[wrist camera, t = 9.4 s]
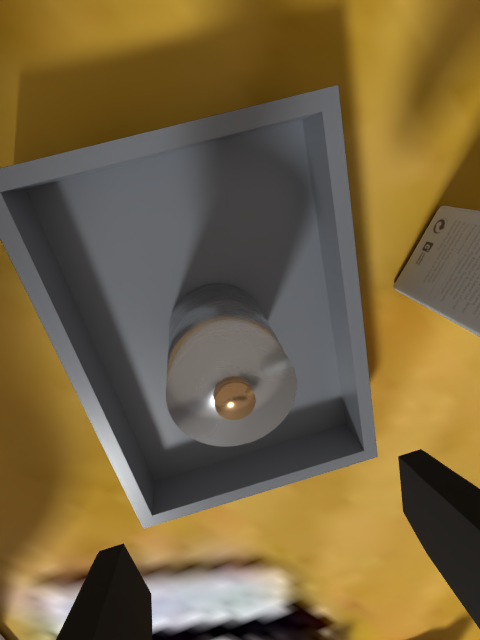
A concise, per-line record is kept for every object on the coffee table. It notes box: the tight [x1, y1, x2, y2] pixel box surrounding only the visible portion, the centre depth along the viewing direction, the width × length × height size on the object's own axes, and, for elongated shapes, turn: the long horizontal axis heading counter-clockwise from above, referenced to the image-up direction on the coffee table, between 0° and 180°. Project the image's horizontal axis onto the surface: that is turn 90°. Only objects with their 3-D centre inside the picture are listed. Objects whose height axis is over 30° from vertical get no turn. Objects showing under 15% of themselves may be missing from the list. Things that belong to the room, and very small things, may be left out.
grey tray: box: [0, 85, 378, 529], centre depth 15 cm, size 11×15×3 cm
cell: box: [166, 283, 297, 447], centre depth 13 cm, size 4×4×6 cm
